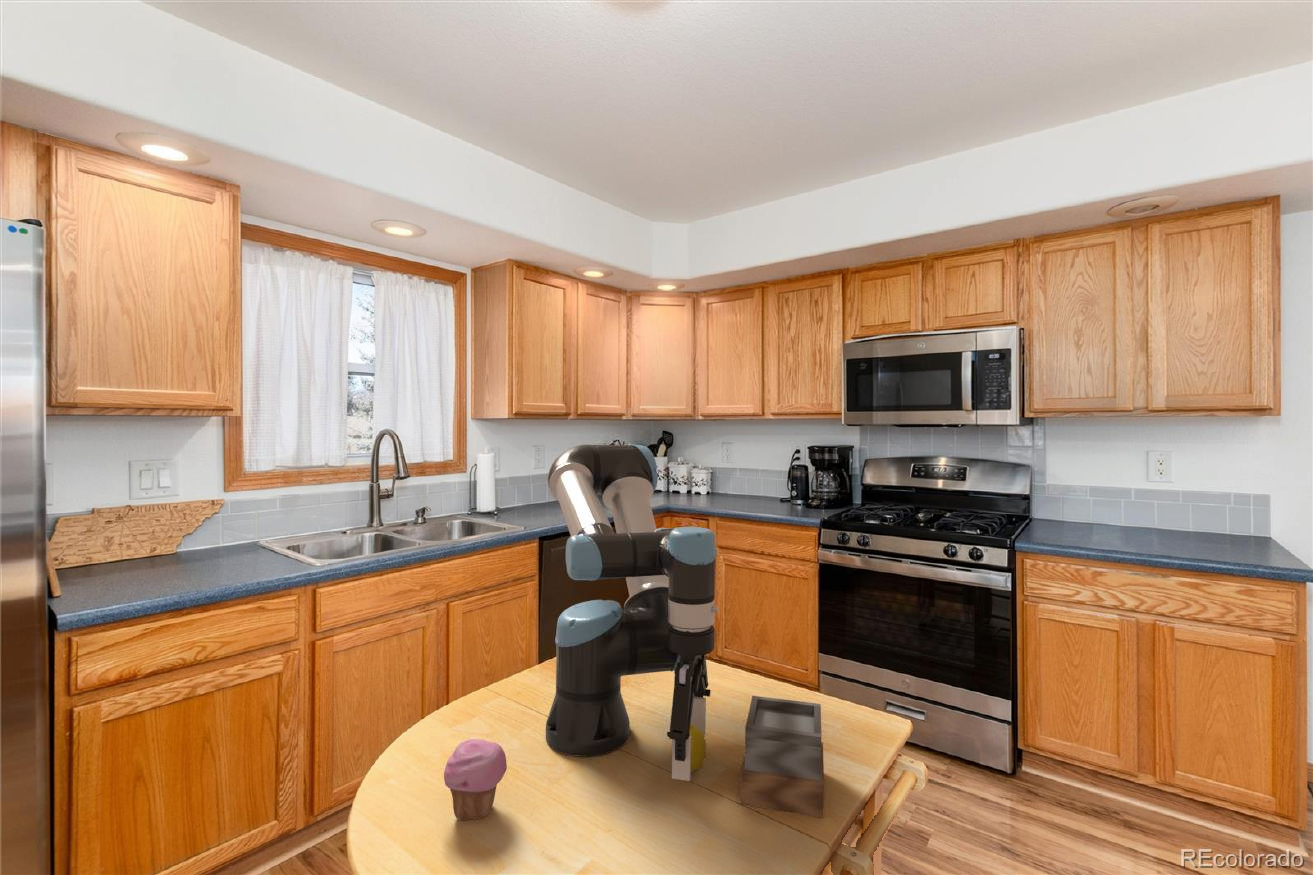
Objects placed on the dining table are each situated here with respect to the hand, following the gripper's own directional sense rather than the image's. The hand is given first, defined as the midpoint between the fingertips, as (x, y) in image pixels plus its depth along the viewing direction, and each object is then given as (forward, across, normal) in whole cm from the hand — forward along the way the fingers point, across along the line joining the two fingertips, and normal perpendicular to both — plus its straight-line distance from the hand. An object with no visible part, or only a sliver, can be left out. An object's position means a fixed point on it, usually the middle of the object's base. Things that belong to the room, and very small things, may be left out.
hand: (689, 755), depth 100 cm
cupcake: (+3, -18, +28) cm, 33 cm away
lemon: (+3, 0, 0) cm, 3 cm away
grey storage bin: (+3, 0, -15) cm, 15 cm away
